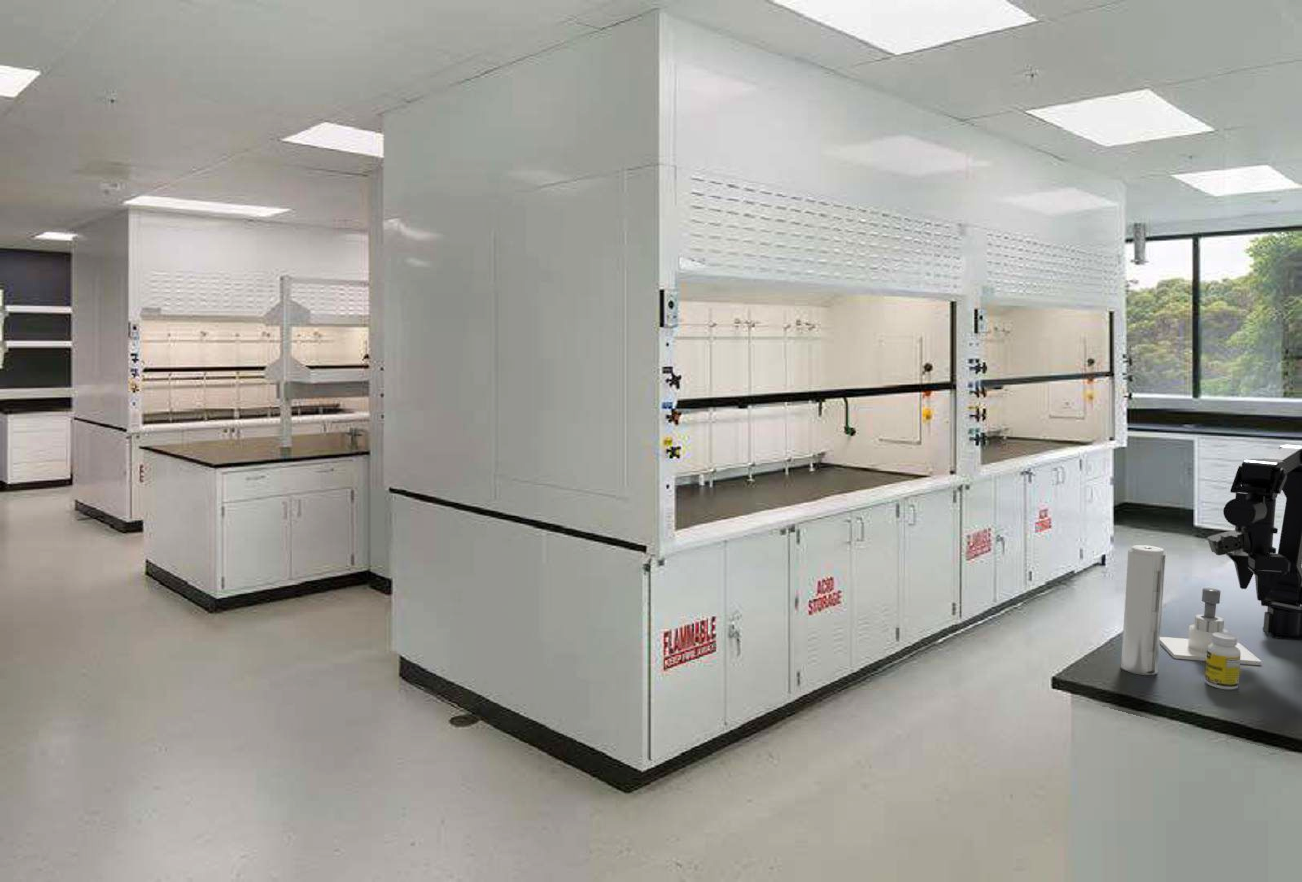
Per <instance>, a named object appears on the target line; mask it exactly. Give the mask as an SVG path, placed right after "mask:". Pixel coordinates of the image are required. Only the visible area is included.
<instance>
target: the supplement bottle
mask: <svg viewBox="0 0 1302 882" xmlns="http://www.w3.org/2000/svg"><path fill="white" fill-rule="evenodd" d="M1212 641H1213V643H1212V644H1210V645H1209V646H1208V648H1207V659H1206V661H1205V663H1206V664H1205V674H1204V675H1205V676H1204V677H1205V678H1204V681H1205V683H1206V685H1209V687H1210V686H1211V687H1213V688H1216V689H1220V690H1227V691H1228V690H1236V689H1238V687H1239V682H1240V680H1239V679H1240V666H1241V664H1240V656H1241V652H1240V650H1239V649H1238V648H1237V647H1235V646H1236V645H1237V643H1238V637H1237V635H1234V634H1231V633H1229V632H1228V633H1221V632H1216V633H1213V635H1212Z"/></svg>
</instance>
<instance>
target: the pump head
mask: <svg viewBox="0 0 1302 882" xmlns="http://www.w3.org/2000/svg"><path fill="white" fill-rule="evenodd" d="M1201 602H1203V603H1204V609H1203V610H1204V612H1203V614H1204V617H1207V618H1215V616H1216V612H1217V611H1216V610H1217V609H1216V608H1217V604H1218V605H1219V604H1220V602H1221V590H1220V589H1216V588H1212V587H1211V588H1210V587H1203V588H1202V593H1201Z"/></svg>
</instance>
